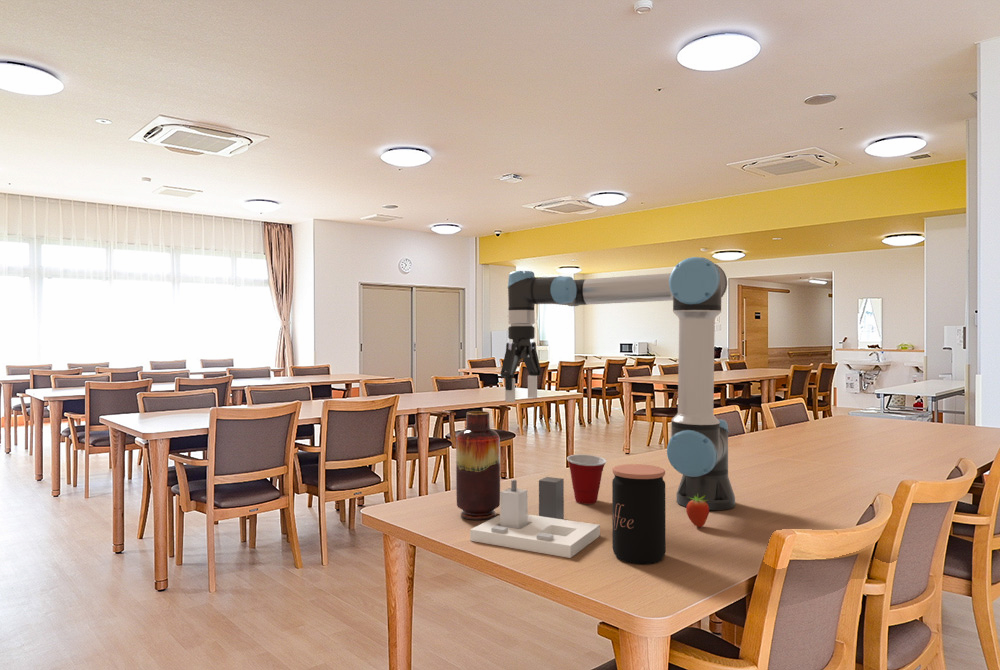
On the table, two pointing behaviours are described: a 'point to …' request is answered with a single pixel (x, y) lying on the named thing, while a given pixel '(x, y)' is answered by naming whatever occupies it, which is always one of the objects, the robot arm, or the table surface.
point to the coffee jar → (638, 513)
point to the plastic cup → (586, 477)
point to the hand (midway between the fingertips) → (521, 399)
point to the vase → (478, 468)
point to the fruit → (697, 511)
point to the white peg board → (533, 528)
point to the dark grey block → (551, 497)
